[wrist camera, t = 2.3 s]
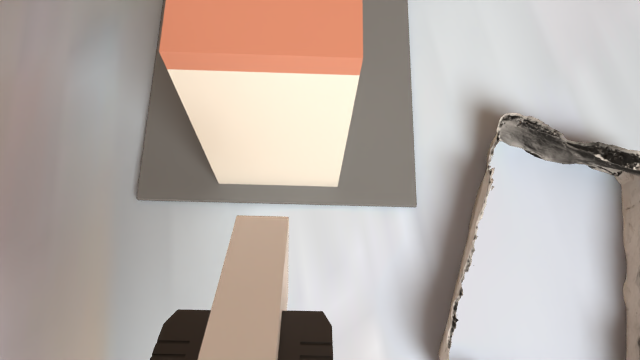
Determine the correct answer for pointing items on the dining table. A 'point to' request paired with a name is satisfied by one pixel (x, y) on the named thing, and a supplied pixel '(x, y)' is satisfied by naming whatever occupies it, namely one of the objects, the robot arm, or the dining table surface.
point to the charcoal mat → (361, 146)
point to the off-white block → (267, 84)
